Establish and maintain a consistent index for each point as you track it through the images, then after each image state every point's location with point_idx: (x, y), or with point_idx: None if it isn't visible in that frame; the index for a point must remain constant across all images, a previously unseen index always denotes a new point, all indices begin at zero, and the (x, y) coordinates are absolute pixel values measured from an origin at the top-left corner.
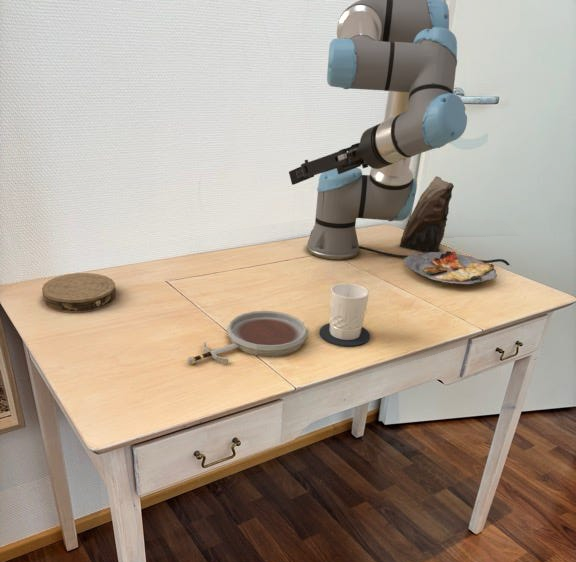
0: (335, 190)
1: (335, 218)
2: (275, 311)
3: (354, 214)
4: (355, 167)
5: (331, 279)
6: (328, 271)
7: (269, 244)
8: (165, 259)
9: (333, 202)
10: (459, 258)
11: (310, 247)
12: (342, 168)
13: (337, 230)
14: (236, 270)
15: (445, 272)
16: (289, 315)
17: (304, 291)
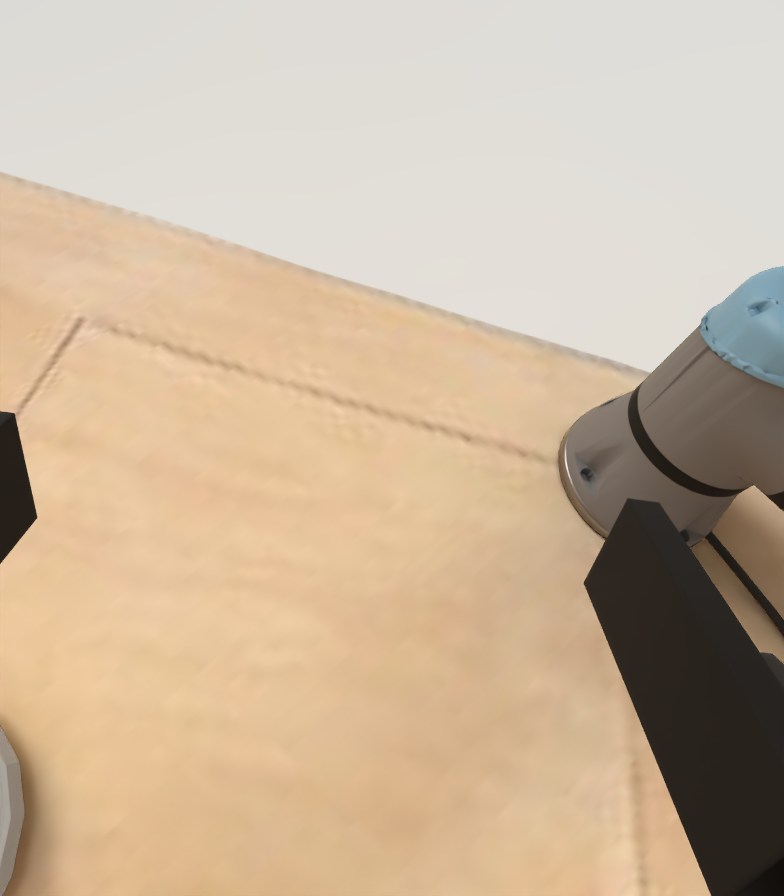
0: (747, 379)
1: (678, 448)
2: (3, 759)
3: (754, 484)
4: (690, 837)
5: (480, 626)
6: (517, 574)
7: (506, 341)
8: (208, 240)
9: (708, 406)
10: None
11: (568, 440)
12: (622, 616)
13: (659, 478)
14: (294, 391)
15: None
16: (2, 833)
17: (330, 634)
